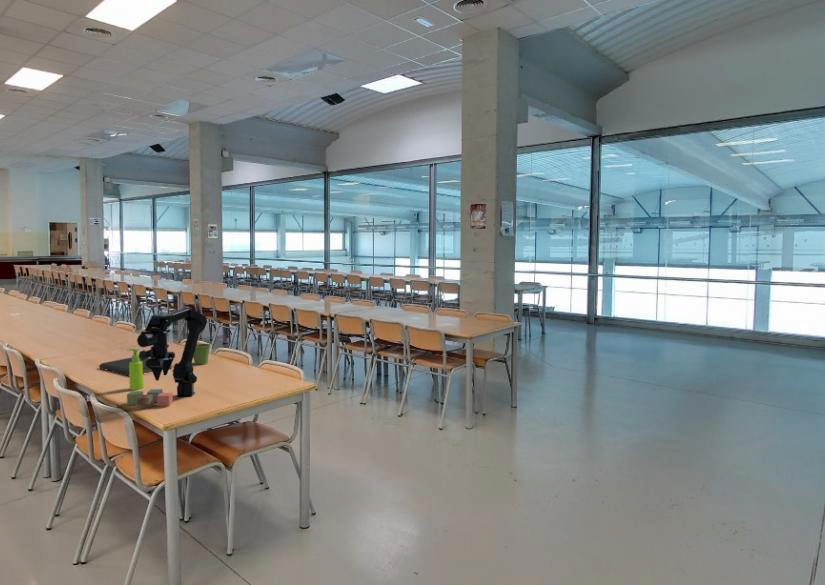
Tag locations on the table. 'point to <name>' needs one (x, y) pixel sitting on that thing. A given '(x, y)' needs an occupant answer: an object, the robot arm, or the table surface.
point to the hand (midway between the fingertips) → (161, 377)
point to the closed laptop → (124, 366)
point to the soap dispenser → (136, 371)
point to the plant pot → (201, 353)
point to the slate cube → (154, 393)
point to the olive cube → (133, 397)
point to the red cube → (164, 399)
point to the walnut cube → (144, 401)
